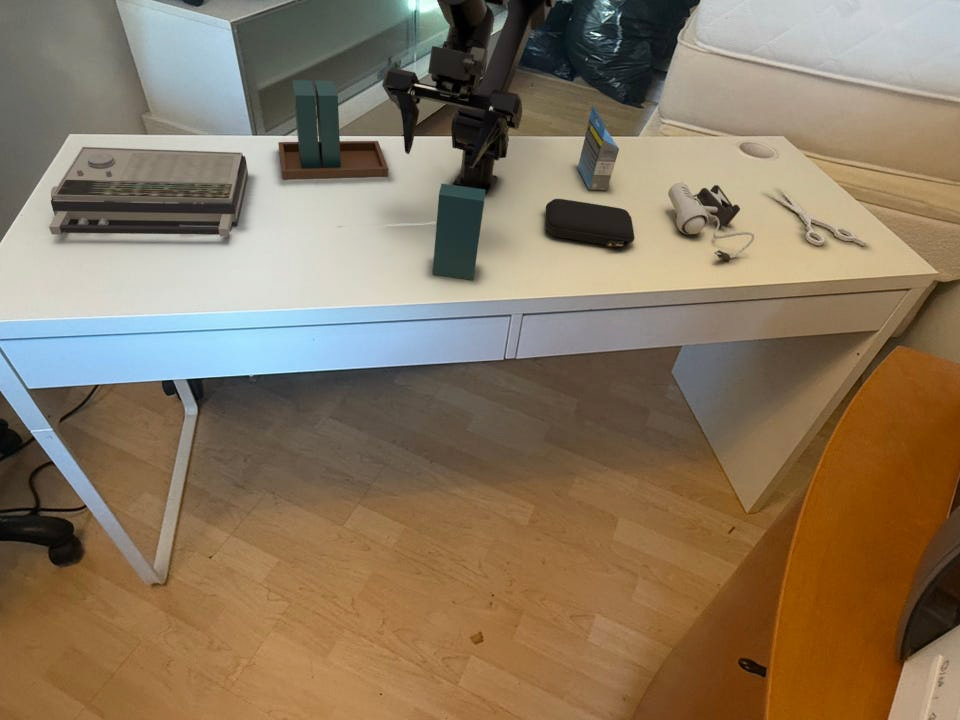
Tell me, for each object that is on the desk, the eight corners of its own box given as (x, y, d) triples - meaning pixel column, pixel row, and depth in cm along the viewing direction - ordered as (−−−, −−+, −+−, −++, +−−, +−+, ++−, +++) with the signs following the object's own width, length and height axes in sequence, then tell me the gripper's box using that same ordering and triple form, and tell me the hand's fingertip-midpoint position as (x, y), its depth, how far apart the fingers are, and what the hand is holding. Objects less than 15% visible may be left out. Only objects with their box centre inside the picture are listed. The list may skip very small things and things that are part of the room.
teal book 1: (317, 155, 109) (312, 80, 100) (320, 171, 105) (315, 95, 96) (299, 155, 108) (292, 80, 99) (302, 172, 104) (295, 95, 95)
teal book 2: (337, 155, 110) (334, 80, 101) (341, 171, 106) (338, 95, 97) (319, 155, 109) (314, 80, 100) (323, 171, 105) (318, 95, 96)
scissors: (821, 247, 107) (751, 188, 119) (819, 251, 107) (750, 192, 120) (867, 242, 110) (794, 185, 123) (864, 246, 110) (792, 189, 123)
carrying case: (543, 242, 99) (633, 256, 99) (546, 226, 97) (638, 240, 97) (544, 209, 106) (628, 222, 107) (547, 193, 104) (633, 206, 104)
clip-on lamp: (749, 274, 105) (710, 200, 114) (773, 248, 100) (730, 173, 109) (691, 272, 101) (655, 195, 110) (713, 245, 96) (673, 167, 105)
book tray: (378, 151, 114) (378, 140, 113) (388, 179, 107) (388, 168, 106) (279, 153, 109) (278, 141, 108) (283, 182, 102) (281, 171, 101)
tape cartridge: (608, 191, 114) (627, 126, 105) (588, 190, 113) (605, 125, 105) (595, 168, 120) (612, 105, 111) (576, 167, 119) (591, 104, 111)
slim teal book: (434, 262, 91) (441, 182, 82) (474, 267, 92) (485, 189, 83) (432, 274, 89) (438, 194, 80) (473, 280, 89) (484, 200, 80)
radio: (244, 146, 99) (228, 212, 85) (248, 176, 102) (234, 244, 89) (76, 139, 94) (30, 208, 80) (87, 171, 98) (45, 242, 84)
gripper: (386, 1, 76) (356, 124, 77) (531, 30, 75) (500, 156, 75) (406, 45, 88) (380, 153, 88) (533, 71, 86) (506, 181, 86)
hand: (438, 160), depth 84 cm, fingers open, 9 cm apart
